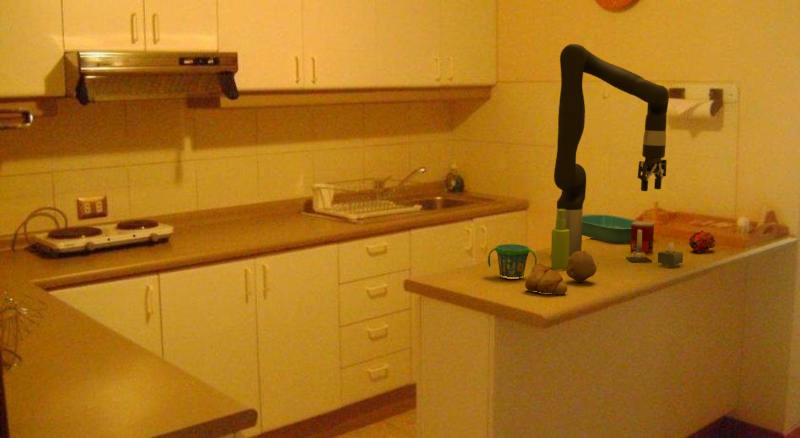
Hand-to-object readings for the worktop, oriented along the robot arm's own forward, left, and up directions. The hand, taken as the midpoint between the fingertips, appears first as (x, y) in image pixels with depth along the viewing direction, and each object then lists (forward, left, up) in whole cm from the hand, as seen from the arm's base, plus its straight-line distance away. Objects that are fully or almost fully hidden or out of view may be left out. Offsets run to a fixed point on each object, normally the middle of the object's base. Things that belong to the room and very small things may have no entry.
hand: (650, 190), depth 296 cm
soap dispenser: (-34, -10, -25) cm, 43 cm away
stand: (-4, -1, -25) cm, 25 cm away
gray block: (+4, -10, -24) cm, 26 cm away
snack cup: (-53, -24, -25) cm, 63 cm away
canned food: (+2, +14, -25) cm, 29 cm away
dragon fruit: (+24, +13, -25) cm, 37 cm away
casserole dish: (0, +46, -25) cm, 53 cm away
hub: (+4, -10, -25) cm, 27 cm away
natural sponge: (-32, -32, -25) cm, 52 cm away
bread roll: (-46, -44, -25) cm, 69 cm away
